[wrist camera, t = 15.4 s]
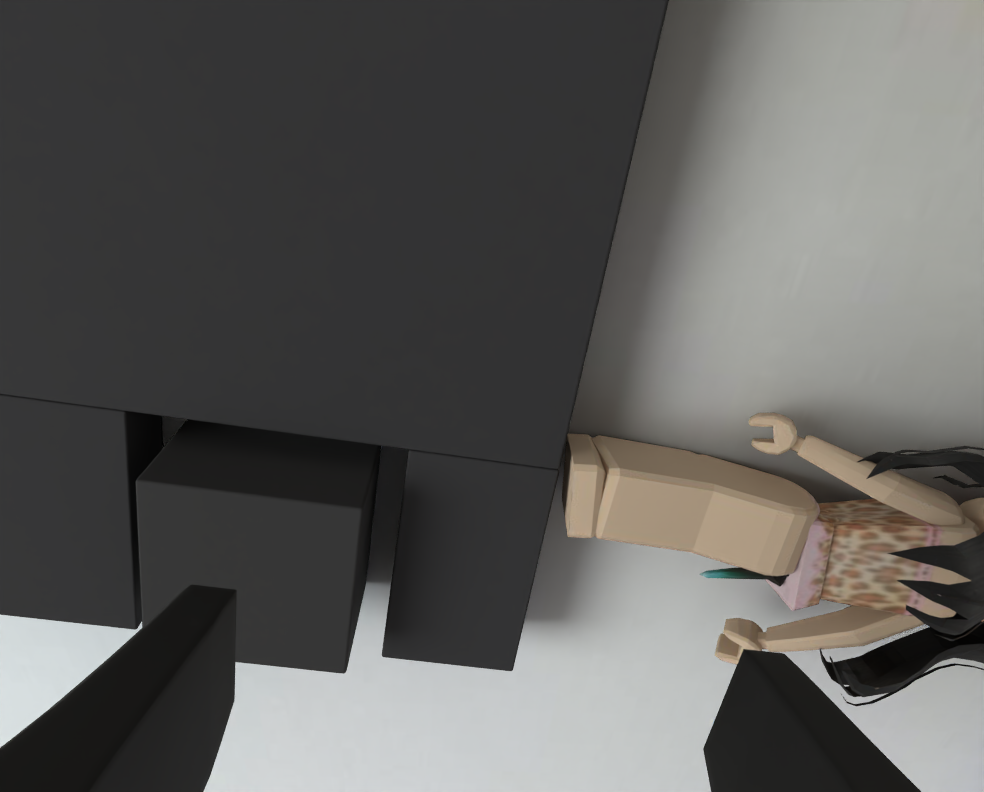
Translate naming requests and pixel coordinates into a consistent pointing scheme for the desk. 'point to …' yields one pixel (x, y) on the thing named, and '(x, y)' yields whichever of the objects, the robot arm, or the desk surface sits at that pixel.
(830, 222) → the desk surface
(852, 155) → the desk surface
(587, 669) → the desk surface
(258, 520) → the small block
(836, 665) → the toy figure
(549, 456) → the black slab with blocks
